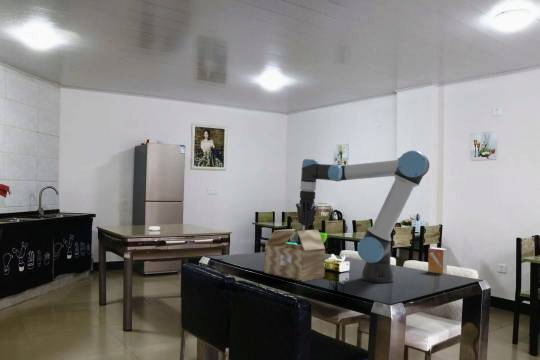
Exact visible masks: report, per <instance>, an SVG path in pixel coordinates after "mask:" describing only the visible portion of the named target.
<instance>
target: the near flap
mask: <svg viewBox="0 0 540 360" xmlns="http://www.w3.org/2000/svg"><path fill="white" fill-rule="evenodd" d="M296 232H297V235H298V238H299V241H300V243H301V244H300V245H302V246H303V249H304V251H309V250H317V249H325V250H326V248H325V244H324V243H323V241H322V239H321V236H320V233H321V232H320V231H319V229H309V230H304V231H301V230H297V231H296Z"/></svg>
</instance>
